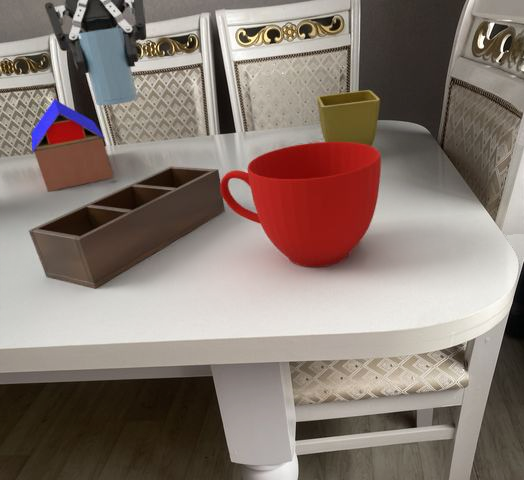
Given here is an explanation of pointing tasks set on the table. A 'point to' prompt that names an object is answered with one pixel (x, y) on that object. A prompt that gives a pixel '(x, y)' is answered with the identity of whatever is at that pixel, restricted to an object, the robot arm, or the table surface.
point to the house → (69, 148)
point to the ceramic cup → (312, 198)
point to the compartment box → (127, 225)
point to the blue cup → (108, 66)
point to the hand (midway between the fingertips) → (108, 65)
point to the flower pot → (349, 117)
